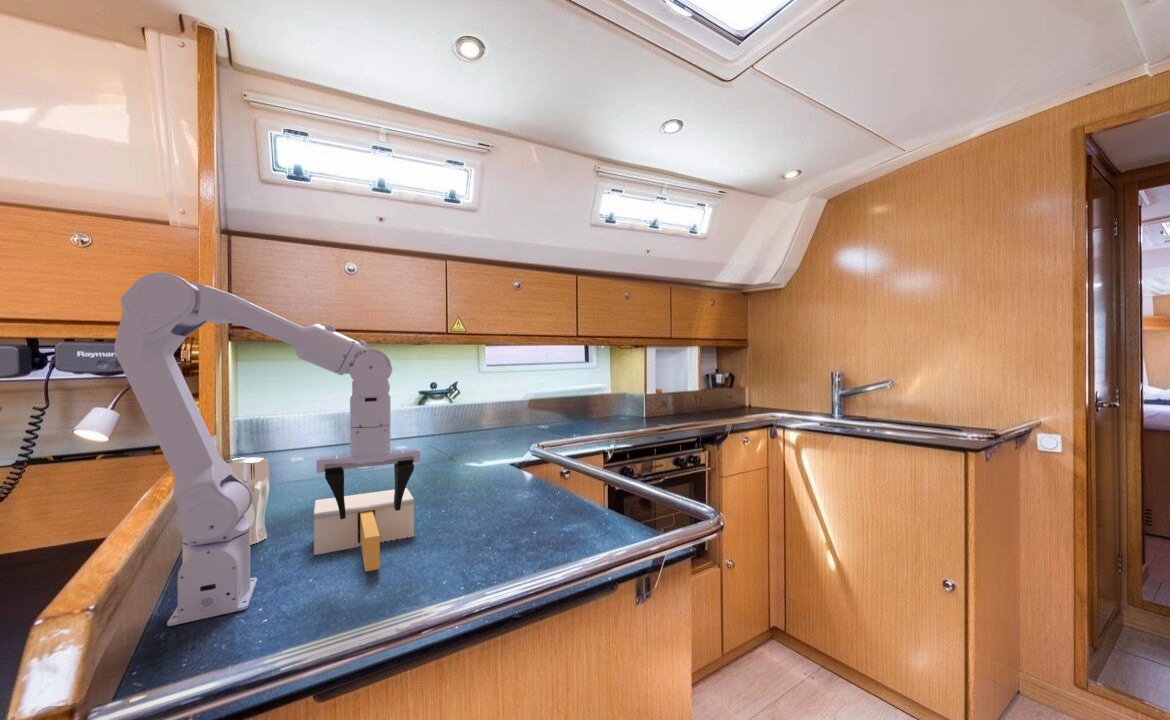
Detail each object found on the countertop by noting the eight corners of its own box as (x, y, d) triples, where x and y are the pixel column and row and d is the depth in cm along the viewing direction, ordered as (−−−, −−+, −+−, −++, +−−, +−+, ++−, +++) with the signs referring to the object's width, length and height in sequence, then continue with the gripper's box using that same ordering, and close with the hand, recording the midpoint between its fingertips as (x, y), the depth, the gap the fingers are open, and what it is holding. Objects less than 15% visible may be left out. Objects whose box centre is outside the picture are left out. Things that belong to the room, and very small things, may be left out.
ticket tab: (379, 568, 68) (379, 535, 68) (365, 571, 67) (365, 538, 67) (372, 538, 81) (372, 510, 81) (360, 540, 80) (360, 512, 80)
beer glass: (214, 545, 81) (214, 461, 81) (257, 532, 87) (257, 454, 87) (234, 552, 78) (234, 465, 78) (277, 538, 84) (277, 457, 84)
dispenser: (414, 537, 83) (414, 499, 84) (313, 556, 76) (313, 514, 76) (407, 522, 92) (406, 487, 92) (315, 537, 84) (315, 500, 84)
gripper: (415, 420, 77) (415, 499, 77) (317, 426, 70) (317, 513, 70) (422, 424, 71) (422, 510, 71) (315, 431, 64) (315, 527, 64)
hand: (370, 512), depth 70 cm, fingers open, 7 cm apart
